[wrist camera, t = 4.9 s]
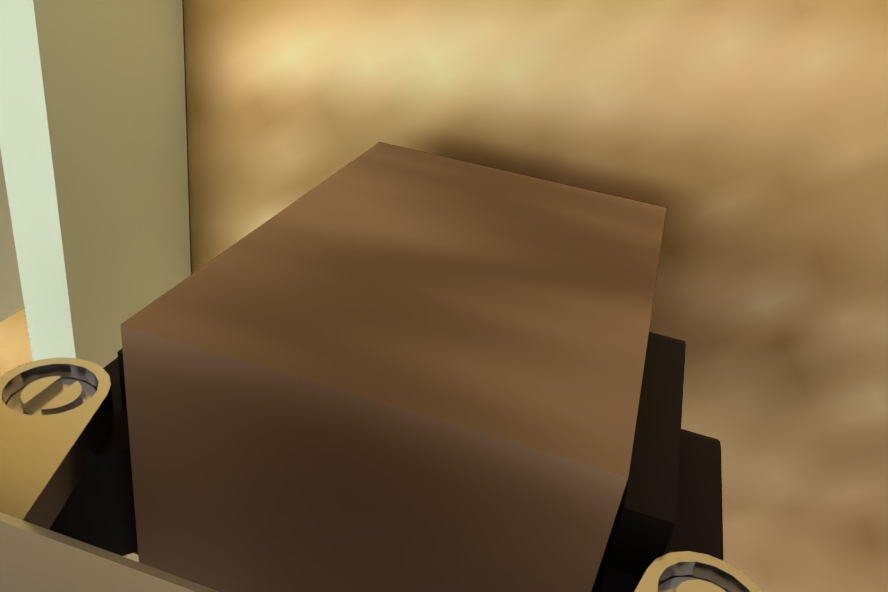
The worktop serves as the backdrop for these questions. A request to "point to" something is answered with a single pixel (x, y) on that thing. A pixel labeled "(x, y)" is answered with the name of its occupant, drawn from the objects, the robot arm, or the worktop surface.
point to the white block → (8, 258)
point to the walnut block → (397, 386)
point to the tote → (94, 165)
